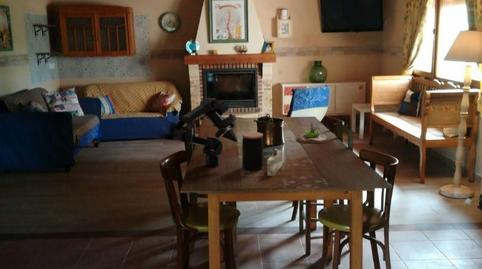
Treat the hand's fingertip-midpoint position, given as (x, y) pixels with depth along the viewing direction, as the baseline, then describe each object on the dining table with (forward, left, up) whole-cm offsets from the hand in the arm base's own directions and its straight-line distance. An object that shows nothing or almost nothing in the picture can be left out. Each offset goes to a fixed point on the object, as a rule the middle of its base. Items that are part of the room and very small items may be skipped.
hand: (236, 141), depth 243 cm
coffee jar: (+9, 0, -14) cm, 16 cm away
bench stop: (+21, 0, -14) cm, 25 cm away
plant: (+28, +71, -14) cm, 78 cm away
